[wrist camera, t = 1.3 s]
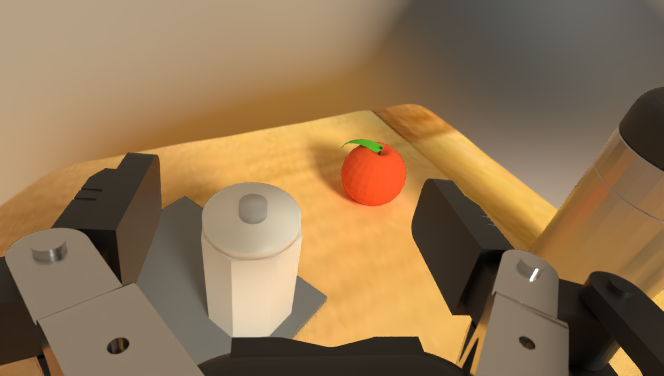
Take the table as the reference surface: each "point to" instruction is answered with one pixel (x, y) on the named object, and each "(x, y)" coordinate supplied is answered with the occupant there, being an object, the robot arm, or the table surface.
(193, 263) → the mat
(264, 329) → the white lidded jar
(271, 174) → the table surface
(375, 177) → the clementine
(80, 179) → the table surface
